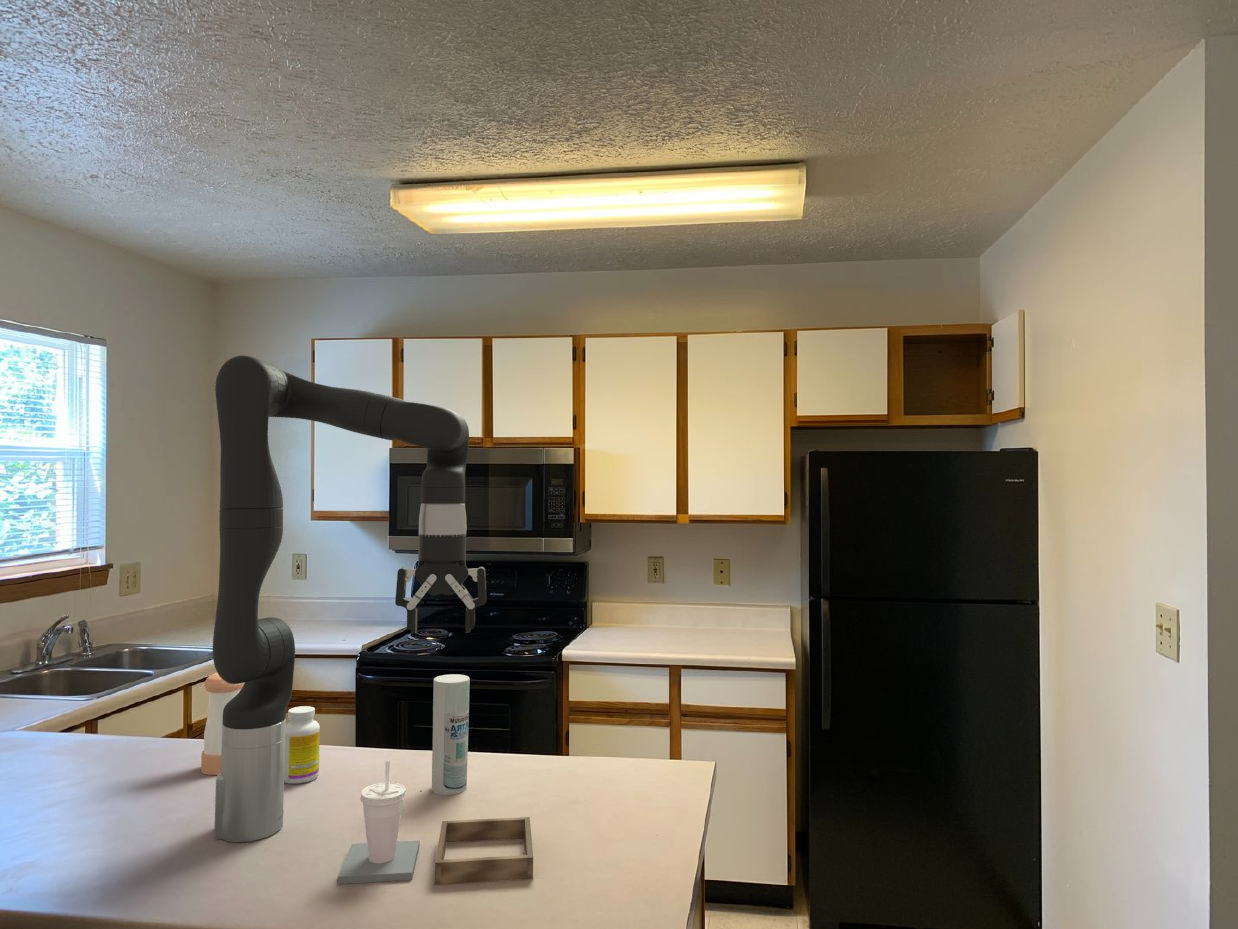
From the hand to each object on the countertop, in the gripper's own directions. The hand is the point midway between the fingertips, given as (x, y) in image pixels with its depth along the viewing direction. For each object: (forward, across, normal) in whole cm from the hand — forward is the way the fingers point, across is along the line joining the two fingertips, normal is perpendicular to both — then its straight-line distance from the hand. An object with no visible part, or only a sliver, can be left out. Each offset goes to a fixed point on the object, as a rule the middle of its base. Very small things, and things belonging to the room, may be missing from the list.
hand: (441, 632), depth 125 cm
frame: (+32, +8, -10) cm, 34 cm away
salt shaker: (+31, -44, +32) cm, 63 cm away
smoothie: (+31, -7, -10) cm, 33 cm away
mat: (+32, -7, -10) cm, 34 cm away
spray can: (+32, 0, +18) cm, 36 cm away
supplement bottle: (+32, -28, +25) cm, 49 cm away
